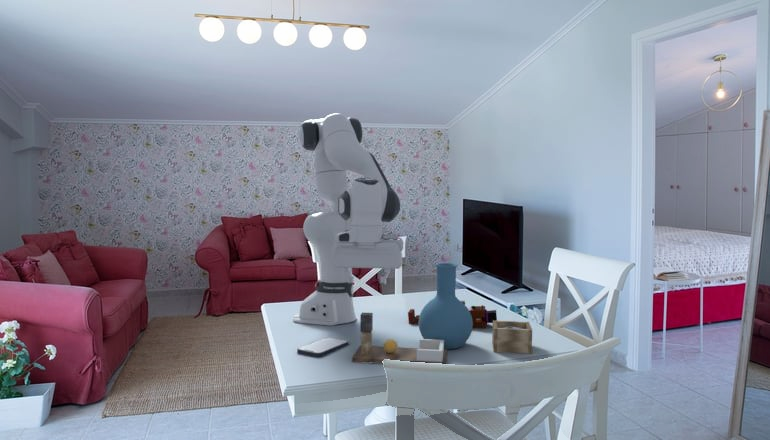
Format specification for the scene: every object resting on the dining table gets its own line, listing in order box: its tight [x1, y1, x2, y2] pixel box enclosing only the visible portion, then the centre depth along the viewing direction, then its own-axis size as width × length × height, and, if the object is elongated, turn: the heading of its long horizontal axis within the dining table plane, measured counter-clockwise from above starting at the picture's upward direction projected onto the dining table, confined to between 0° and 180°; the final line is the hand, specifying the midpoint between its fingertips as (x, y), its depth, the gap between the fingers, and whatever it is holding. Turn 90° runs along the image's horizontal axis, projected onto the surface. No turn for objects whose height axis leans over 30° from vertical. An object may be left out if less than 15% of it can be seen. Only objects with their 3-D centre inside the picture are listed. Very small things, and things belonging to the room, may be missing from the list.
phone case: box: [297, 337, 349, 358], centre depth 175 cm, size 9×2×16 cm
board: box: [351, 344, 448, 365], centre depth 167 cm, size 26×12×1 cm, turn 82°
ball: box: [383, 338, 399, 353], centre depth 167 cm, size 4×4×4 cm
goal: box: [417, 338, 445, 362], centre depth 165 cm, size 7×11×3 cm, turn 172°
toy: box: [407, 300, 498, 329], centre depth 205 cm, size 26×7×30 cm
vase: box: [418, 262, 473, 350], centre depth 179 cm, size 16×16×25 cm
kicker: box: [359, 312, 374, 355], centre depth 168 cm, size 3×6×11 cm, turn 172°
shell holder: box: [491, 320, 533, 355], centre depth 177 cm, size 11×10×7 cm
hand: (366, 283), depth 166 cm, fingers open, 8 cm apart
